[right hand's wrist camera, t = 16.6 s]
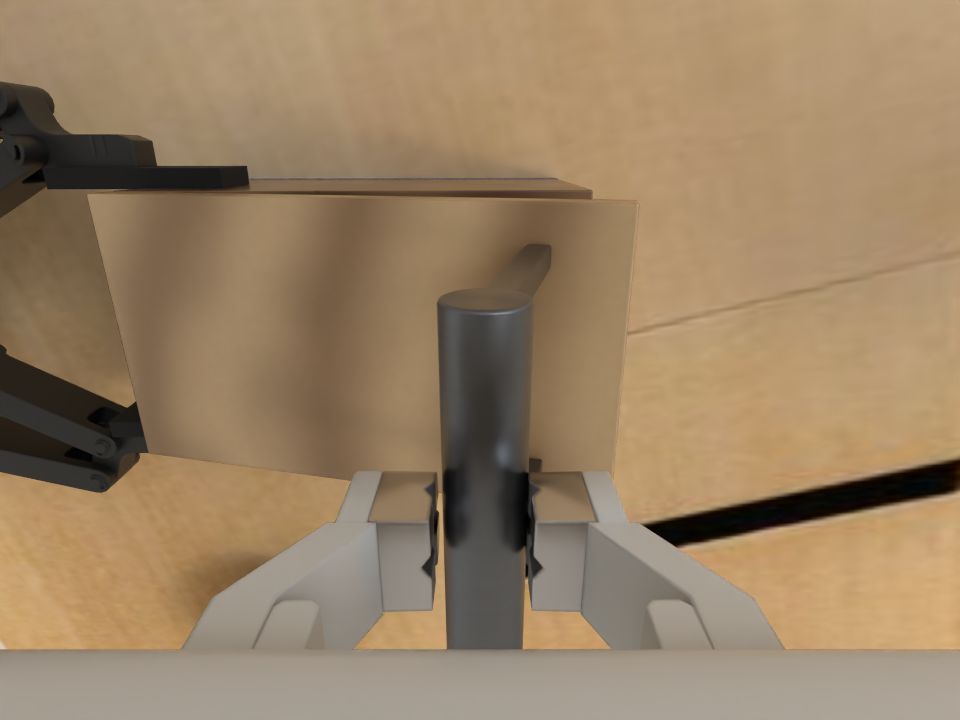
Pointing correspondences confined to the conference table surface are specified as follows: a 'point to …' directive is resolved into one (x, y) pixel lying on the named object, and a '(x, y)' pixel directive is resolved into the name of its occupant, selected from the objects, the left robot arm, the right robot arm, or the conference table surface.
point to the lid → (383, 350)
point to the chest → (403, 188)
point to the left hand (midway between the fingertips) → (254, 305)
